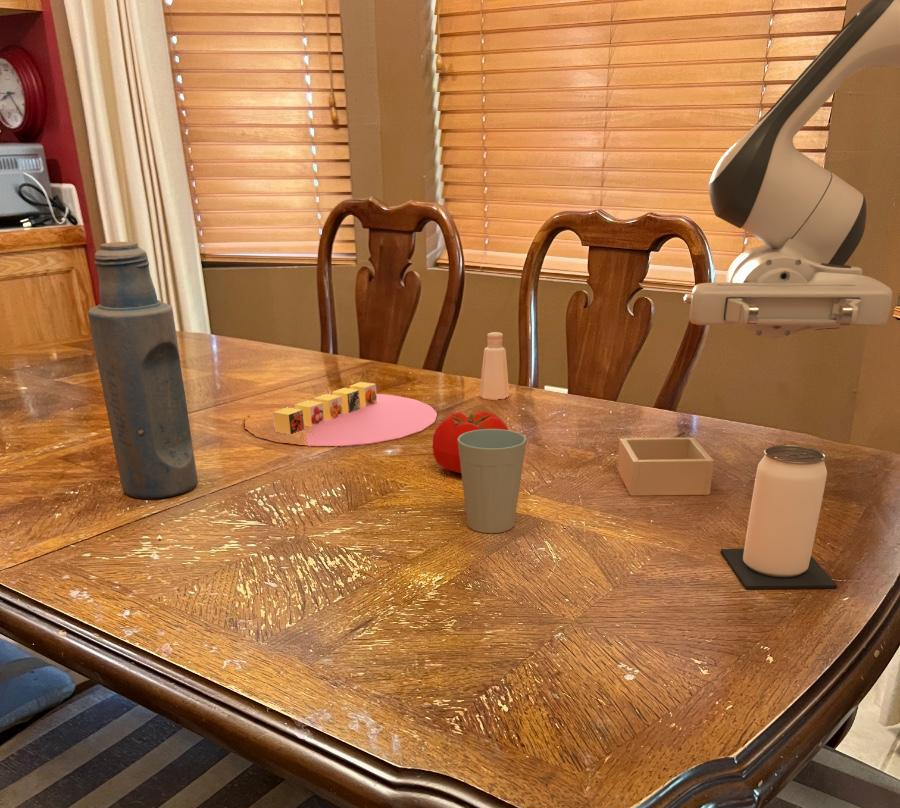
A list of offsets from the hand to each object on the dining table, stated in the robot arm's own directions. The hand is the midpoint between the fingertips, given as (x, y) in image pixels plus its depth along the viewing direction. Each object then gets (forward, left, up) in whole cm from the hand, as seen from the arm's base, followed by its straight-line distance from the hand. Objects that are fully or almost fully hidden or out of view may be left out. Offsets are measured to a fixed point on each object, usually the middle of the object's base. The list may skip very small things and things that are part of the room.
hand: (799, 316), depth 86 cm
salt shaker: (+28, -64, -24) cm, 74 cm away
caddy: (+8, -18, -24) cm, 31 cm away
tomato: (+33, -24, -24) cm, 47 cm away
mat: (+2, +9, -24) cm, 25 cm away
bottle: (+74, -18, -24) cm, 79 cm away
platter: (+54, -51, -24) cm, 78 cm away
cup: (+31, -4, -24) cm, 39 cm away
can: (+2, +9, -24) cm, 25 cm away
